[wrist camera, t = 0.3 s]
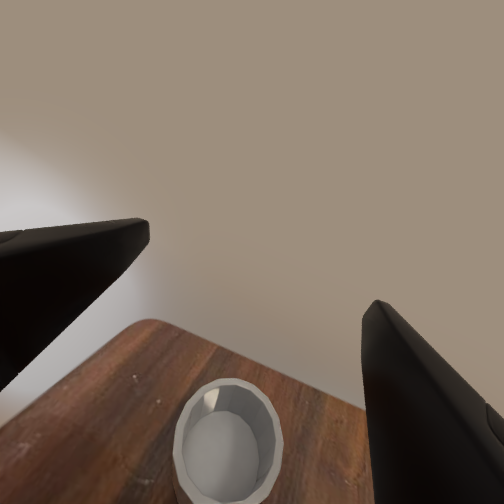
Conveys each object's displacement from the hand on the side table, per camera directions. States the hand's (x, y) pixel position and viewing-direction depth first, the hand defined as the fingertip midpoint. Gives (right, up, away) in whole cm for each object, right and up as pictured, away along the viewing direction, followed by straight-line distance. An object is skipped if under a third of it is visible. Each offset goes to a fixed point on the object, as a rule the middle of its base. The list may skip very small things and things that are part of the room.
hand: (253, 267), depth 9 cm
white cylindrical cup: (-2, -15, +8) cm, 17 cm away
